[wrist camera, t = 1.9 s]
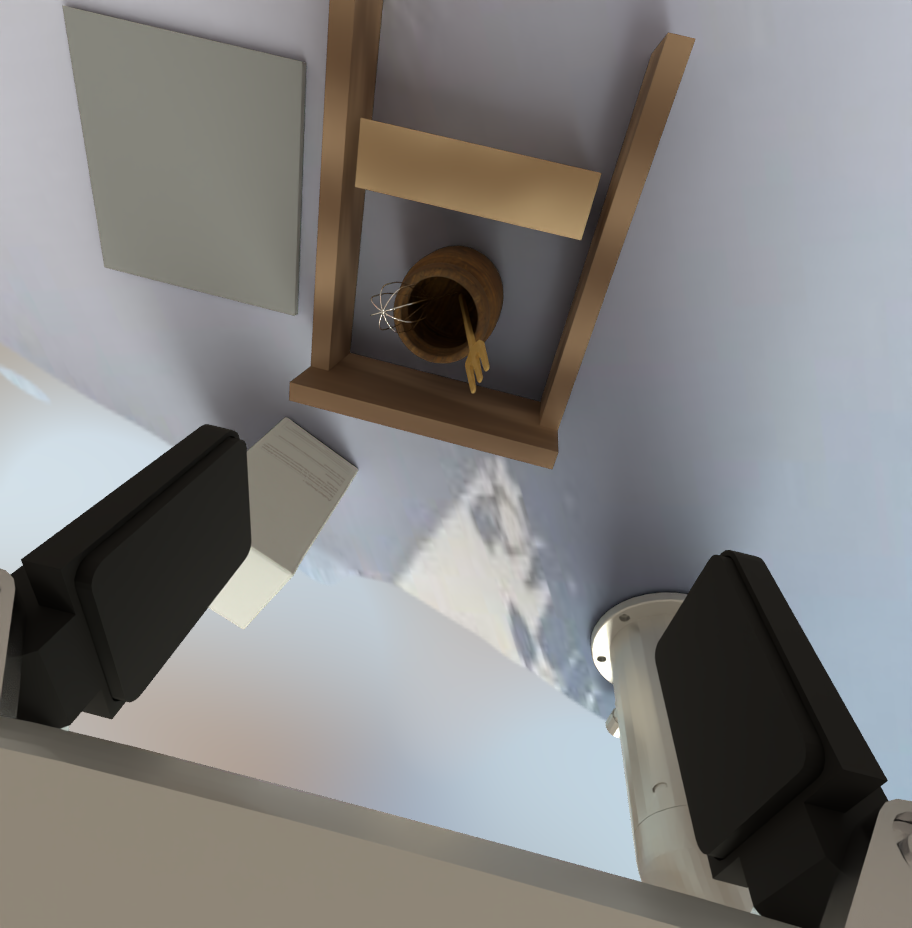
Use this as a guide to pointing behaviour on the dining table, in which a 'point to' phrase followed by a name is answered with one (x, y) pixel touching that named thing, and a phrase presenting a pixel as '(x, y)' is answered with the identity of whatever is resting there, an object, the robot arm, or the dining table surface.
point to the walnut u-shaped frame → (338, 245)
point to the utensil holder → (449, 308)
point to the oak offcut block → (475, 179)
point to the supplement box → (282, 514)
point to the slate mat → (192, 157)
